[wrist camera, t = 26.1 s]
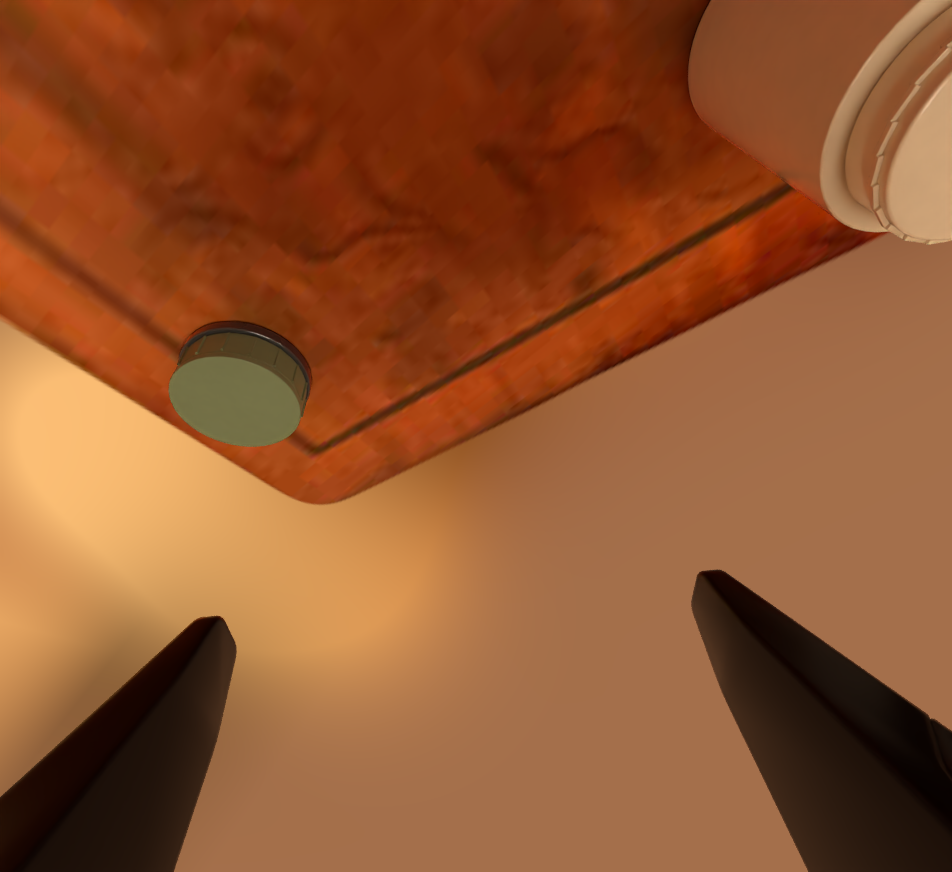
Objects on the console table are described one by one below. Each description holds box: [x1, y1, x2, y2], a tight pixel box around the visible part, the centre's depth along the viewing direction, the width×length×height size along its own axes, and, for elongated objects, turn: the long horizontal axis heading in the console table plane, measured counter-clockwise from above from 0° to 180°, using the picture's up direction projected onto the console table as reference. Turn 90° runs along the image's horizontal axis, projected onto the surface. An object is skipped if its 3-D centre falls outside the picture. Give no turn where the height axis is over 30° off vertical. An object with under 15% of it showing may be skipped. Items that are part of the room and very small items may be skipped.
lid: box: [169, 332, 307, 447], centre depth 24 cm, size 6×6×2 cm
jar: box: [688, 0, 952, 245], centre depth 13 cm, size 6×6×10 cm
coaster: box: [178, 322, 312, 402], centre depth 25 cm, size 6×6×1 cm
